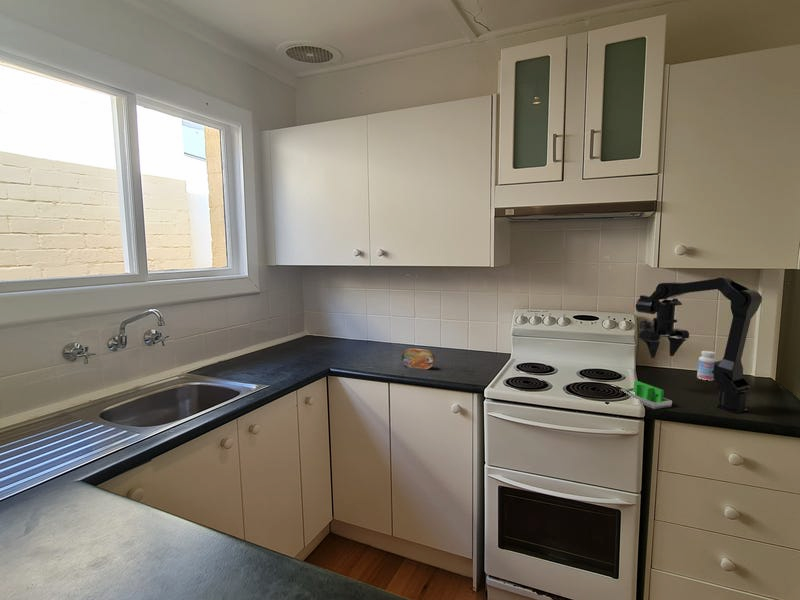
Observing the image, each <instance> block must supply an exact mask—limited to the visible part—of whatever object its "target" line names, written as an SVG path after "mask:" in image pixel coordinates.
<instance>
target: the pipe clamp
mask: <svg viewBox="0 0 800 600" xmlns="http://www.w3.org/2000/svg"><path fill="white" fill-rule="evenodd" d="M633 381H634V382H633V388H634V391H633V392H635V395H637V396H639V397H643V398H645V399H647V400H650V401H652V400H653V401H656V402H662V401H663V398H664V393H665V392H664V389H661V388H659V387H656V386H653V385H650V384H648V383H645V382H642V381H639V380H633Z"/></svg>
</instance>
